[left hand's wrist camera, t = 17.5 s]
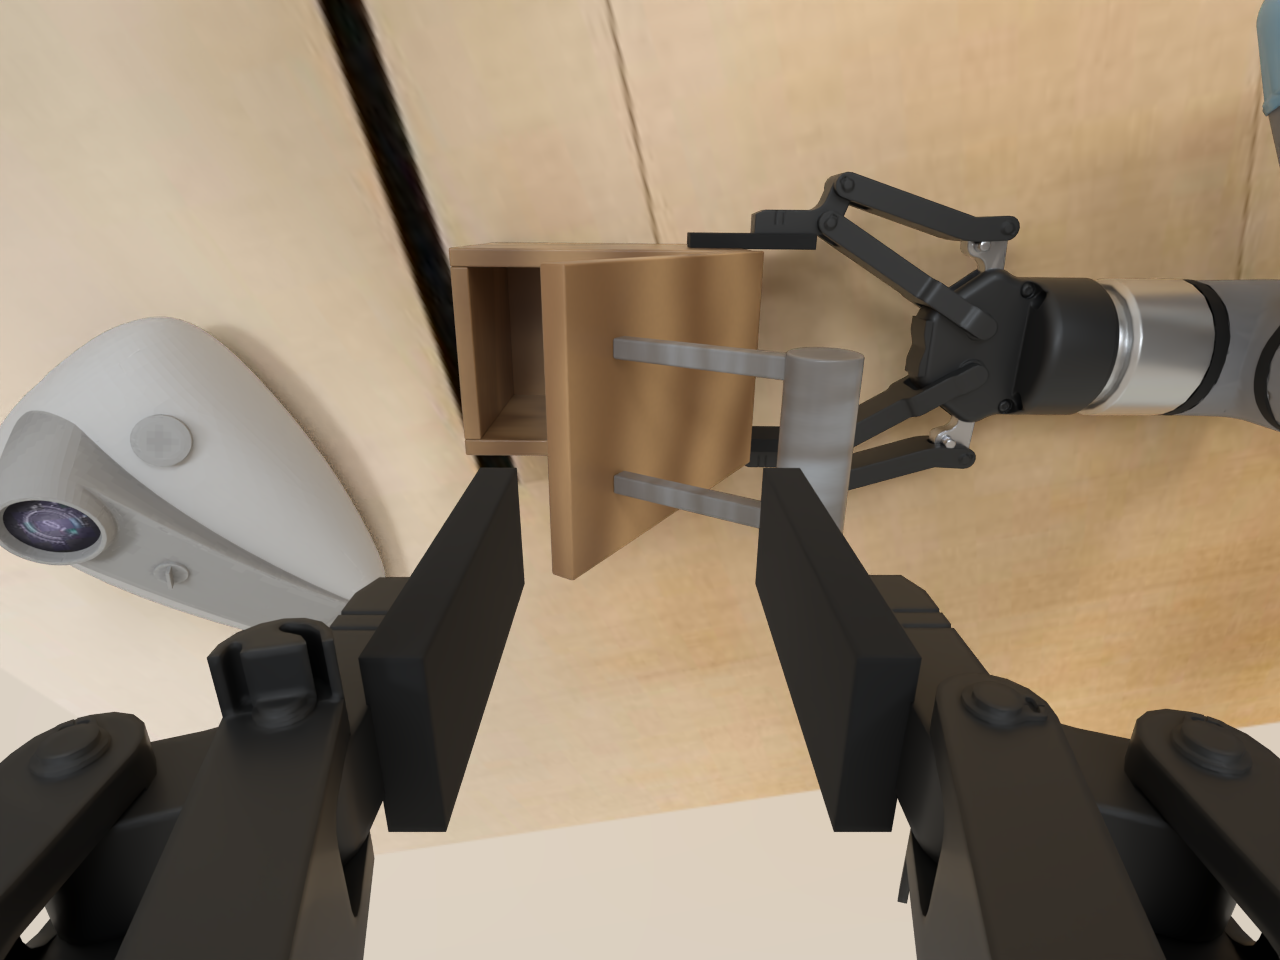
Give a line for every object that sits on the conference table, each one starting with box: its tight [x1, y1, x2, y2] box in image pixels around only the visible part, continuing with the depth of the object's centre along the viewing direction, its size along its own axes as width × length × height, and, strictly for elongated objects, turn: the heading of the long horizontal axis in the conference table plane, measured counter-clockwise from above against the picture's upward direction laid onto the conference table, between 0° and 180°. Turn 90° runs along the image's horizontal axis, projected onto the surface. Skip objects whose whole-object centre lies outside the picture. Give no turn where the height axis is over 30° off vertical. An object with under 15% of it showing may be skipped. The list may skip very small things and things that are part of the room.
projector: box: [0, 317, 385, 630], centre depth 41 cm, size 22×23×15 cm
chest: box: [449, 242, 751, 456], centre depth 39 cm, size 14×10×11 cm
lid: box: [540, 251, 864, 580], centre depth 26 cm, size 15×10×9 cm
